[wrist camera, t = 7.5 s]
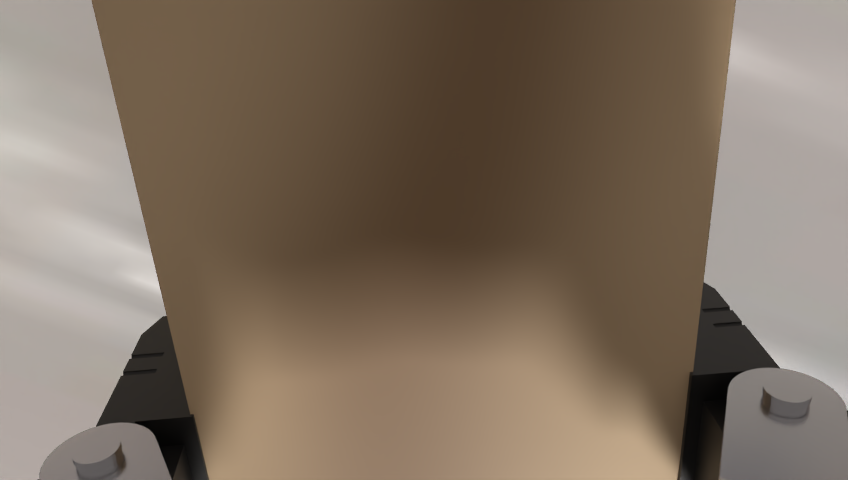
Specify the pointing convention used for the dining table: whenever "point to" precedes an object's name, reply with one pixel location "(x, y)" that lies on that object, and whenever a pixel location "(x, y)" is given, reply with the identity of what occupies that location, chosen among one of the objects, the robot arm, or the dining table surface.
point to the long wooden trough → (427, 227)
